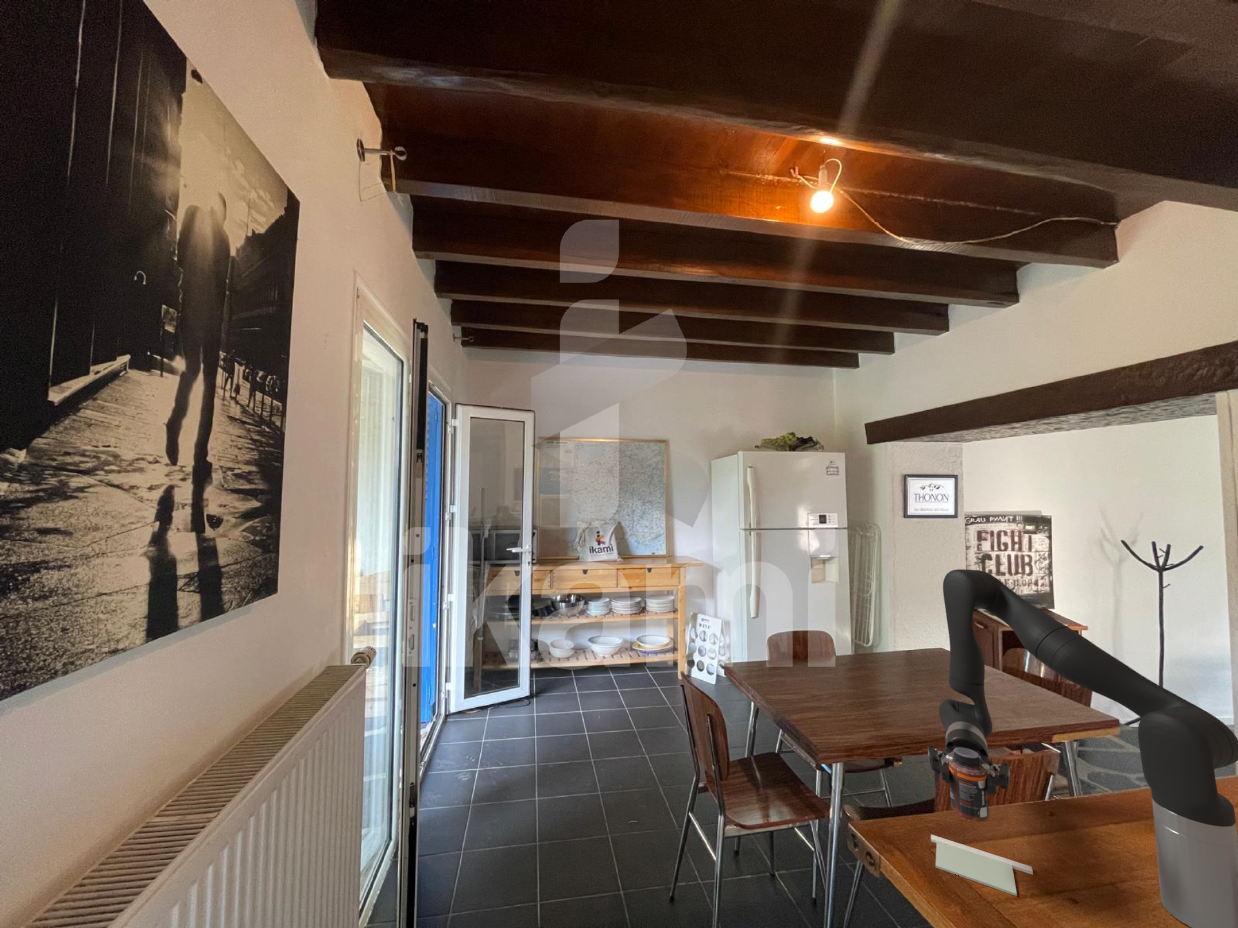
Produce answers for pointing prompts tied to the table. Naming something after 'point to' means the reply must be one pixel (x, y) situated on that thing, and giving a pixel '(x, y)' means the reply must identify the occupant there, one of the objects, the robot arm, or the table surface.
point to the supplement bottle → (968, 785)
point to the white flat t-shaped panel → (977, 865)
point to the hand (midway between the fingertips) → (968, 784)
